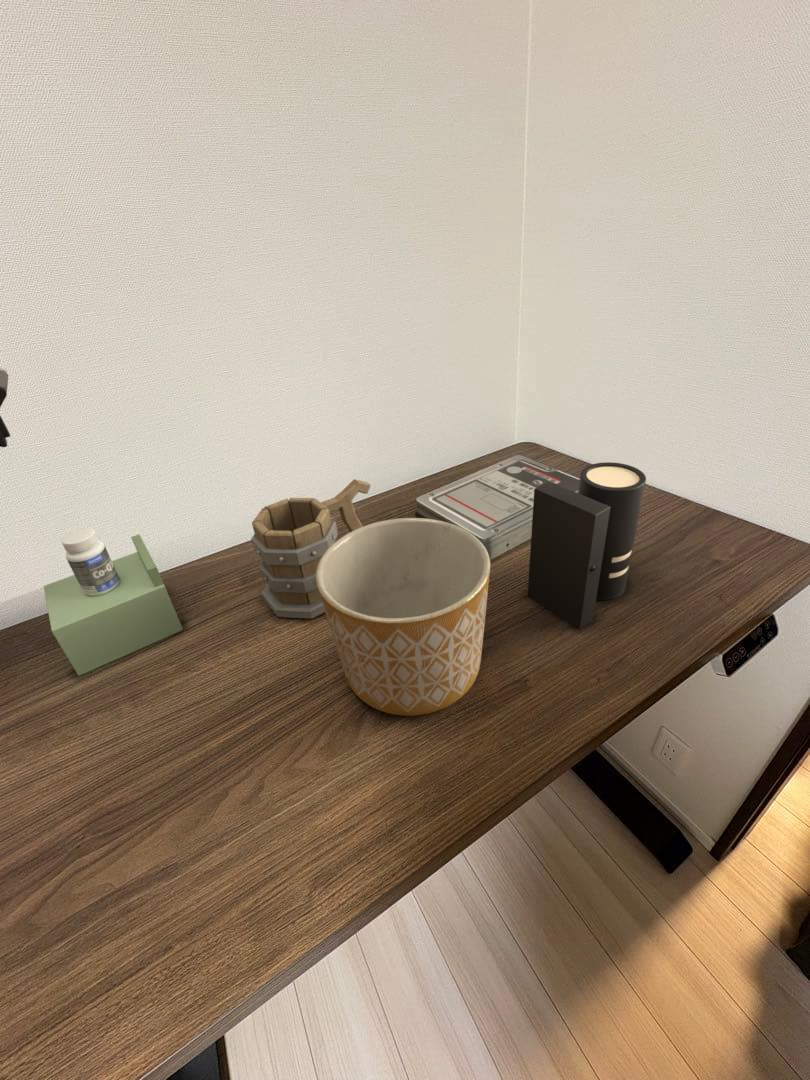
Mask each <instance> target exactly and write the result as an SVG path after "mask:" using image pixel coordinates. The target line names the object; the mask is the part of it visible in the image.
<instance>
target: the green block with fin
mask: <svg viewBox="0 0 810 1080" xmlns="http://www.w3.org/2000/svg"><path fill="white" fill-rule="evenodd" d="M130 538H131V540H132V543H133V545H134V548H135V549H136V552H133V553H130V554H128V555H125V556H122V557H119V558H116V559H114V560H112V562H113V565H114V567H115V569H116V571H117V573H118V576H119V578H120V582H119V583H118V585H117V586H116V587H115V588H114V589H112V590H111V591H109V592H107V593H105V594H101V595H96V596H90V595H86V594H85V593H84V592H83V590H82V588H81V586H80V584H79V582H78V580H77V579H76V577H75V575H74V574H73V575H70V576H67V577H64V578H62V579H58V580H56V581H54V582H50V583H48V584H45V585H43V593H44V597H45V602H46V609H47V614H48V617H49V618H48V619H49V624H50V629H51V633H52V634H53V636H54V638H55V640H56V641H57V643H58V644H59V646H60V648H61V649H62V651H63V652H64V655H65V656H66V658H67V659H68V661H69V663H70V664H71V666H72V668H73V670H74V671H75V673H76V674H77V676H78V677H80V676H82V675H84V674H86V673H89V672H91V671H94V670H96V669H98V668H100V667H102V666H105V665H107V664H110V663H112V662H114V661H116V660H119V659H120V658H122V657H125V656H127V655H129V654H132V653H134V652H136V651H138V650H141V649H143V648H145V647H147V646H150V645H152V644H154V643H157V642H159V641H161V640H163V639H166V638H168V637H170V636H173V635H175V634H177V633H179V632H182V631H183V630H184V628H183V626H182V624H181V621H180V619H179V617H178V614H177V612H176V609H175V607H174V604H173V602H172V600H171V597H170V595H169V593H168V590H167V588H166V585H165V584H164V581H163V578H162V577H161V574H160V572H159V569H158V566H157V565H156V563H155V561H154V558H153V557H152V556H151V554H150V552H149V550H148V548H147V546H146V544H145V542H144V540H143V538H142V537H141V534H135V535H133V536H131V537H130Z"/></svg>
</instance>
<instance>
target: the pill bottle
mask: <svg viewBox="0 0 810 1080" xmlns="http://www.w3.org/2000/svg"><path fill="white" fill-rule="evenodd" d="M61 544H62V546H63V548H64V550H65V559H66V561H67V563H68V565H69V567H70V569H71V571H72V573H73V575H75V577H76V579H77V580H78V582H79V584H80V586H81V588H82V590H83V592H84V593H85V594H86V595H90V596H96V595H101V594H105V593H107V592H109V591H111V590H112V589H114V588H115V587H116V586H117V585H118V583H119V582H120V578H119V576H118V573H117V571H116V569H115V567H114V565H113V562H112V561H113V560H112V558H111V556H110V554H109V552H108V550H107V547H106V546H105V543H104V542H103V541H101V540H99V538H98V535H97V533H96V531H95V529H93V528H90V527H83V528H79V529H75V530H73V531H70V532H69V533H67V534H65V535H64V536H63V537H62V538H61Z"/></svg>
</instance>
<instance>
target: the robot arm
mask: <svg viewBox="0 0 810 1080" xmlns="http://www.w3.org/2000/svg"><path fill="white" fill-rule="evenodd" d="M8 383H9V372H8V371H7V370H6V369H4V368H0V408H2V405H3V403H4V401H5V400H6V398H7V396H8ZM10 437H11V434H10V431H9V429H8V427H7V425H6V424H5V422H4V420H3V417H2V416H1V415H0V448H7V447H8V440H7V438H10Z"/></svg>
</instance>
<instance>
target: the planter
mask: <svg viewBox="0 0 810 1080" xmlns="http://www.w3.org/2000/svg"><path fill="white" fill-rule="evenodd" d="M490 573H491V560H490V558H489V555H488V552H487V550H486V548H485V547H484V545H483V544H482V543H481V542H480V541H479V540H478V539H477V538H476V537H475V536H474V535H472V534H471V533H470V532H468V531H466V530H464V529H463V528H461V527H458V526H456V525H453V524H450V523H447V522H443V521H439V520H433V519H425V518H415V517H401V518H400V517H399V518H392V519H386V520H381V521H376V522H373V523H370V524H366V525H364V526H363V527H361V528H359V529H356V530H354V531H352V532H350V531H349V532H348V533H346V534H345V535H343V536H341V537H340V538H339V539H336V540H335V543H334V544H333V545H331V546H330V547H329V548H328V550H327V551H326V552H325V553H324V554H323V556H322V558H321V559H320V561H319V563H318V566H317V570H316V583H317V587H318V590H319V593H320V596H321V600H322V603H323V606H324V609H325V612H324V613H325V615H326V619H327V621H328V625H329V628H330V632H331V634H332V638H333V641H334V645H335V647H336V651H337V654H338V657H339V660H340V664H341V666H342V670H343V673H344V676H345V679H346V682H347V684H348V685H349V687H350V689H351V690H352V692H353V693H354V694H355V695H356V696H357V697H358V699H360V700H361V701H363V703H365V704H366V705H368V706H370V707H371V708H373V709H375V710H378V711H380V712H383V713H386V714H390V715H396V716H403V717H404V716H405V717H413V716H415V717H416V716H423V715H424V716H425V715H427V714H428V715H429V714H432V713H436V712H438V711H441V710H443V709H446V708H447V707H449V706H451V705H453V704H454V703H456V702H458V701H459V700H460V699H461V698H462V697H464V696H465V695H466V694H467V692H468V691H469V690H470V689H471V688H472V686H473V685H474V683H475V681H476V679H477V677H478V675H479V671H480V668H481V663H482V652H483V642H484V634H485V624H486V613H487V603H488V593H489V582H490V576H491V575H490Z"/></svg>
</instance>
